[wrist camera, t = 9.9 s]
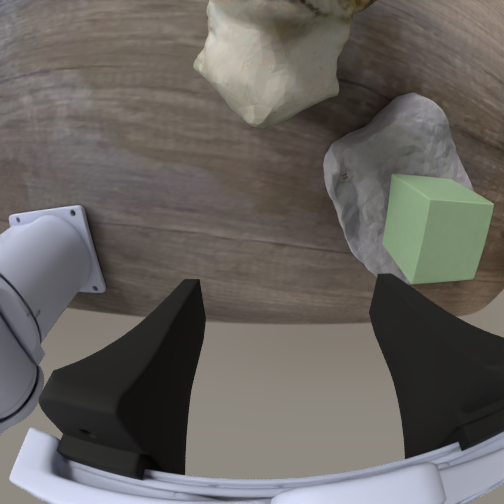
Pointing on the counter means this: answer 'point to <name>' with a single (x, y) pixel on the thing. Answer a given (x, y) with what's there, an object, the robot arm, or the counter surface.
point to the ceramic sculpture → (275, 54)
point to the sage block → (435, 228)
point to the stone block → (387, 171)
